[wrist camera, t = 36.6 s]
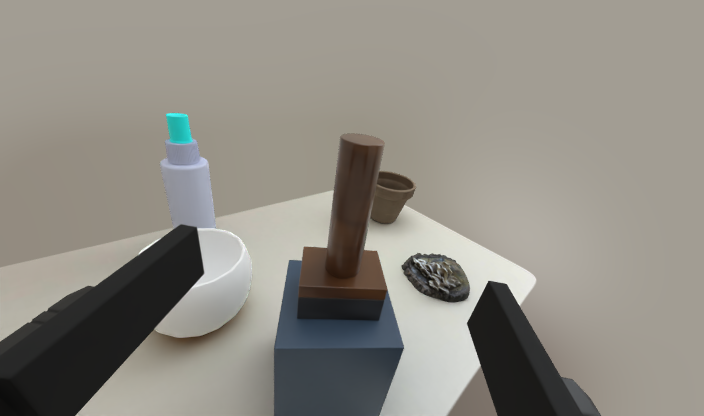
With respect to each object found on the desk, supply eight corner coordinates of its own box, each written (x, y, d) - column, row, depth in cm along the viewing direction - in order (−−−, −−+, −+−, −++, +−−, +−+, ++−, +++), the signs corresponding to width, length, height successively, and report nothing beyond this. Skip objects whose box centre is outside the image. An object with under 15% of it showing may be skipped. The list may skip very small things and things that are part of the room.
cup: (263, 282, 40) (262, 230, 36) (235, 361, 29) (228, 300, 25) (179, 276, 39) (167, 221, 35) (117, 356, 28) (88, 290, 24)
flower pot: (415, 223, 64) (426, 186, 59) (381, 235, 57) (391, 193, 52) (383, 203, 71) (391, 168, 67) (350, 211, 65) (356, 173, 60)
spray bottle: (213, 232, 49) (197, 111, 39) (222, 250, 45) (207, 120, 35) (175, 241, 46) (147, 110, 36) (181, 261, 42) (152, 119, 32)
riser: (363, 333, 35) (380, 263, 29) (376, 422, 26) (404, 347, 21) (286, 333, 33) (289, 259, 28) (273, 428, 25) (273, 348, 19)
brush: (370, 279, 27) (403, 136, 20) (379, 321, 22) (424, 155, 16) (301, 276, 26) (311, 124, 19) (296, 319, 22) (307, 142, 15)
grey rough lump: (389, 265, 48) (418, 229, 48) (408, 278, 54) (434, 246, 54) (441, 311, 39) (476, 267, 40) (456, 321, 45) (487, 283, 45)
